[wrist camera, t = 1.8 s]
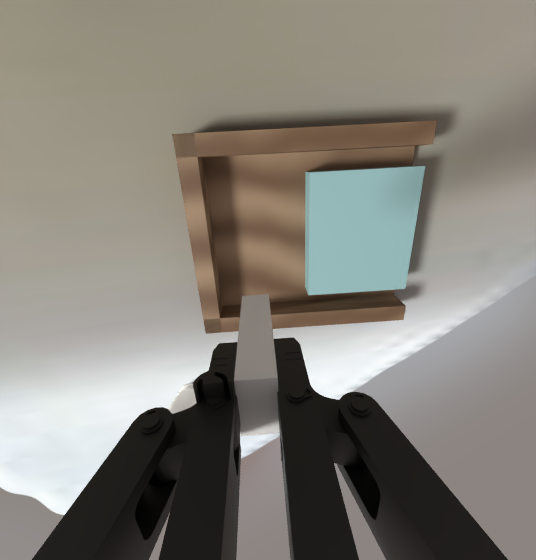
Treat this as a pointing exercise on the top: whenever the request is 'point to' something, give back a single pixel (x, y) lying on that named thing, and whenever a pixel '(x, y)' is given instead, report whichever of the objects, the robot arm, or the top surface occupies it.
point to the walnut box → (277, 216)
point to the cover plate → (360, 228)
